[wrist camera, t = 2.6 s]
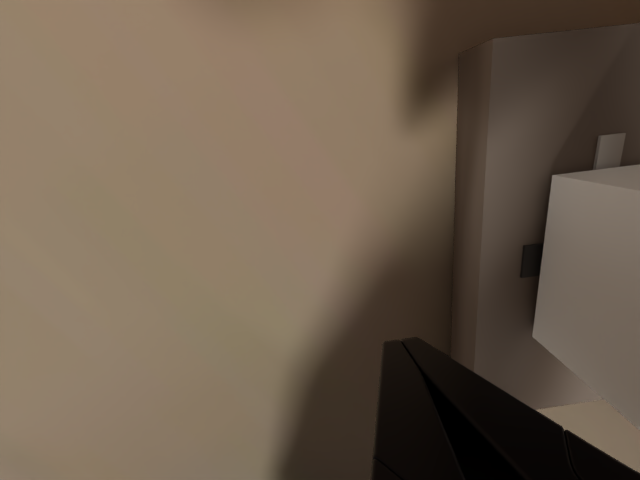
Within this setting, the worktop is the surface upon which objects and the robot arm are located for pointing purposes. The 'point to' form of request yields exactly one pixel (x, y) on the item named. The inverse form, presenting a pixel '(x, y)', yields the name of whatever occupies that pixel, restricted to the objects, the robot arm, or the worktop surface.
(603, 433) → the worktop surface
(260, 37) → the worktop surface
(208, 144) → the worktop surface
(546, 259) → the fader knob
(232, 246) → the worktop surface
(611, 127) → the fader console
